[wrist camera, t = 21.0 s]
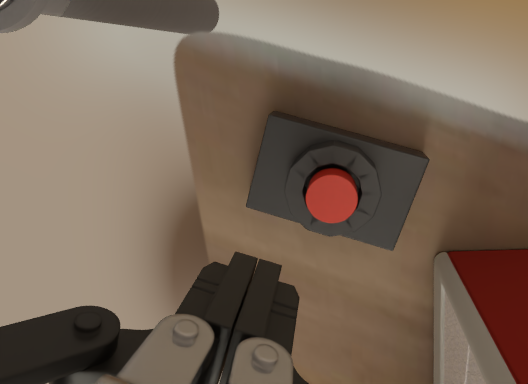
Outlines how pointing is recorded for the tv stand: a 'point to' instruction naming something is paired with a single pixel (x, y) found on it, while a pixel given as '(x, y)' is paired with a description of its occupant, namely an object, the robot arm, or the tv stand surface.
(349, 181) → the button
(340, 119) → the tv stand surface
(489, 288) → the red striped gift box
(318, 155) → the switch box
